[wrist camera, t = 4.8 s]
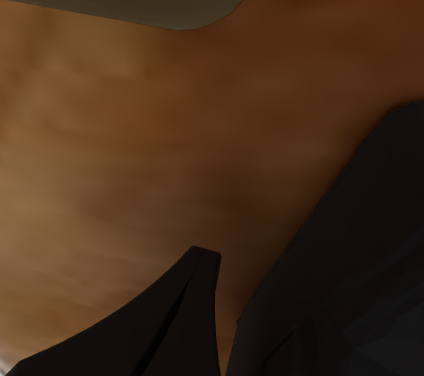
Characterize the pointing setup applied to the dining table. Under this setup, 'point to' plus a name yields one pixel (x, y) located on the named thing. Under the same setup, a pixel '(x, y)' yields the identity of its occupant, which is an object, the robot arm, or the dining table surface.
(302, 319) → the film camera
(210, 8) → the cork
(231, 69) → the dining table surface
